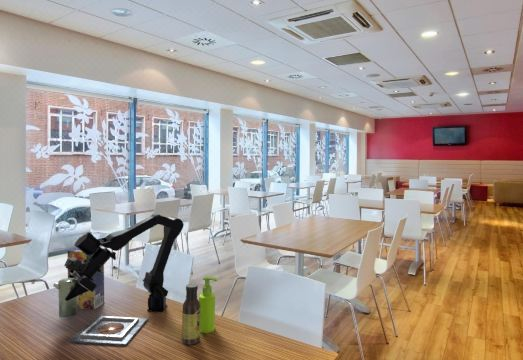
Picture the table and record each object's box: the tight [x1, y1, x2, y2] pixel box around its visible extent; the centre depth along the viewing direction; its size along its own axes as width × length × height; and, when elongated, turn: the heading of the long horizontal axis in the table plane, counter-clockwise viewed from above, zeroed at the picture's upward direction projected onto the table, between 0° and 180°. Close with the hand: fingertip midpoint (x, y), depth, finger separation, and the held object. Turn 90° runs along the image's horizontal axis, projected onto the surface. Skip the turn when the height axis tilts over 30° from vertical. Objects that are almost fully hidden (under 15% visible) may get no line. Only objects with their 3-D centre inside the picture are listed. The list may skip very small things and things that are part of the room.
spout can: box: [52, 277, 79, 319], centre depth 135 cm, size 8×6×13 cm
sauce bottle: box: [181, 283, 201, 345], centre depth 131 cm, size 6×6×20 cm
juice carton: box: [67, 247, 105, 311], centre depth 159 cm, size 12×8×24 cm, turn 79°
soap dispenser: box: [198, 276, 219, 334], centre depth 139 cm, size 6×7×20 cm
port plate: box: [68, 315, 149, 347], centre depth 137 cm, size 20×20×2 cm
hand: (63, 297), depth 135 cm, fingers closed on spout can, 6 cm apart
